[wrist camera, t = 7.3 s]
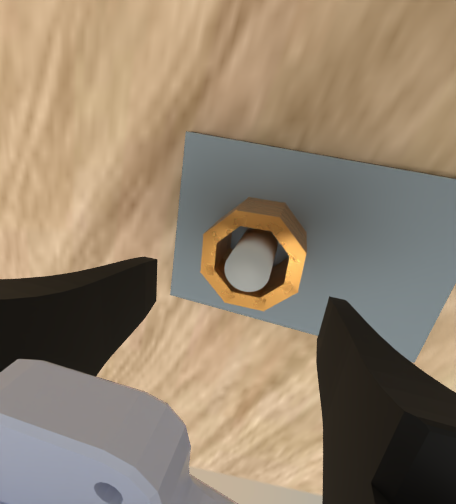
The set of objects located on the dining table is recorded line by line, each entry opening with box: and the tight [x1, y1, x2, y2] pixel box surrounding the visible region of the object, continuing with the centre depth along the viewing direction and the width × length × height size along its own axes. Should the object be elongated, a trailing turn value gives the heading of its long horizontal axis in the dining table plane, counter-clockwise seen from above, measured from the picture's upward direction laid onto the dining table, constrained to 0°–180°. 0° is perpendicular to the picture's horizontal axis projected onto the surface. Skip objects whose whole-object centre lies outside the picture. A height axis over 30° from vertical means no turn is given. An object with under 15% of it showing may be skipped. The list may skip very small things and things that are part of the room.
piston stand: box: [170, 131, 456, 362], centre depth 17 cm, size 18×12×6 cm, turn 83°
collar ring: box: [200, 197, 307, 311], centre depth 18 cm, size 6×6×4 cm
